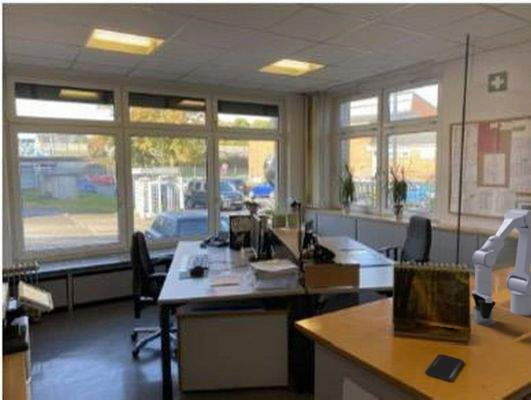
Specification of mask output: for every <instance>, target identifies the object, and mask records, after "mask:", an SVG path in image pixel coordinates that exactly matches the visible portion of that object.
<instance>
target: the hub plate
mask: <svg viewBox="0 0 531 400" xmlns="http://www.w3.org/2000/svg"><path fill="white" fill-rule="evenodd" d="M470 320H471V321H470V322H472V323H474V324H477V323H476V322H475V321H474V319H473V318H472V319H470ZM493 324H496V321H494V320H492V324H480V325H481V326H485V327H488V326H490V325H493Z"/></svg>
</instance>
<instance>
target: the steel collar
mask: <svg viewBox="0 0 531 400" xmlns="http://www.w3.org/2000/svg"><path fill="white" fill-rule="evenodd" d="M472 312H473V314H472V319H474V321H475V322H476V323H475V322H474V323H475V324H477V325H481V324H491V325H493V324H492V321H493V310H492V311H491V314H490V318H489V319H483V317H482V311H481V307H477V306H476V305H475V306H472Z"/></svg>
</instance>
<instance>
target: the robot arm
mask: <svg viewBox="0 0 531 400" xmlns="http://www.w3.org/2000/svg"><path fill="white" fill-rule="evenodd" d="M515 229H516V230H517V231H518V241H517V249H516V256H515V266H514V269H513V270H511V271H509V272H508V275H507V276H508V277H507V278H506V281H505V285H506V288H507V290H508V292H509V293H510V307H509V309H510V313H512V314H514V315H518V316H523V317H524V316H525V317H526V316H531V209H520V208H514V207H513V208H512V207H510V208H508V209H507V210H506V212H505V213H504V214H503V222H502V224H501V225H500V226H499V229H498V230H497V232H496V233H495V234H494V235H490V236H489V237H488V239H487V240H486V241H485V243H484V244H483V245H482V247H481V248H480V249H477V250H475V251H473V254H472V257H471V261H472V262H473V268H474V269H475V270H474V272H475V273H474V278H475V279H474V290H472V291H471V296H472V298H473V301H474V304H475V306H477V307H481V311H482V317H483V319H489V318H490V314H491V311H492V312H493V309H494V307H495V306H496V304H497V303H496V302H495V301H494V300H493V293H492V291H493V290H492V285H493V284H492V282H493V281H492V280H493V279H492V278H493V277H492V276H493V266H494V265H495V264H496V262H497V258H498V254H499V252H500V251H501V250H502V248H503V247H504V246H505V242H504V240H505V239H506V238H507V237H508V236H509V235H510V234H511V233H512V232H513V230H515Z"/></svg>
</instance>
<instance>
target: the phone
mask: <svg viewBox="0 0 531 400" xmlns="http://www.w3.org/2000/svg"><path fill="white" fill-rule="evenodd" d="M464 363H465V361H464V360H463V359H461V358H457V357H454V356H451V355H446V354H442V353H441V354H438V355H437V356H436V357H435V358H434V360H433V361H432V362H431V363H430V364H429V366H428V367H427V368H426V369H425V370H424V373H425V375H426V376H428V377H432V378H435V379H437V380H438V379H439V380H442V381H446V382H453V380H454V379H455V377H456V376H457V374H458V373H459V371H460V370H461V369H462V367H463V366H464Z"/></svg>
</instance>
